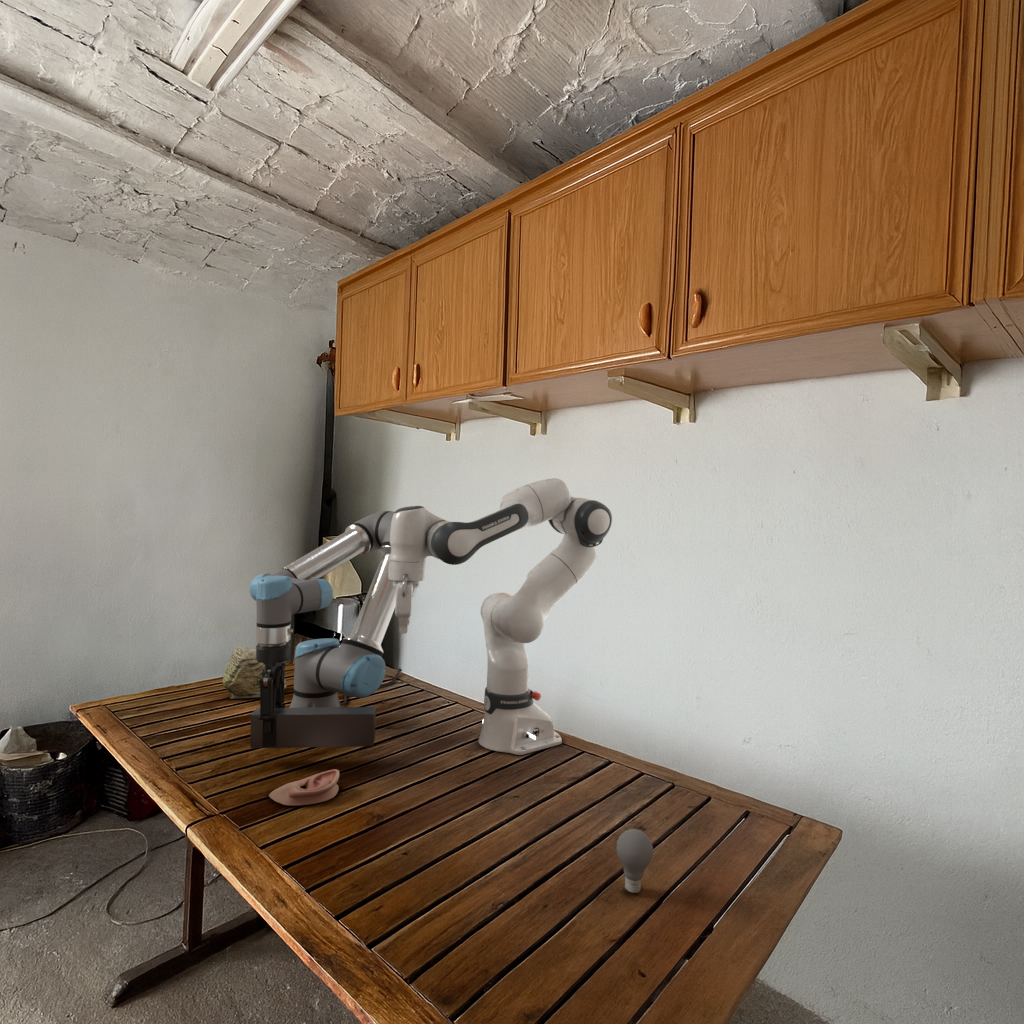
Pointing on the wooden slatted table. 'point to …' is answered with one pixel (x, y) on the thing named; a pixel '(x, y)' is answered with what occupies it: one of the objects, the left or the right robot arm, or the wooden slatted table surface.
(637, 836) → the light bulb
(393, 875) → the wooden slatted table surface
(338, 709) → the bar
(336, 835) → the wooden slatted table surface
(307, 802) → the anatomical model
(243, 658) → the fossil
